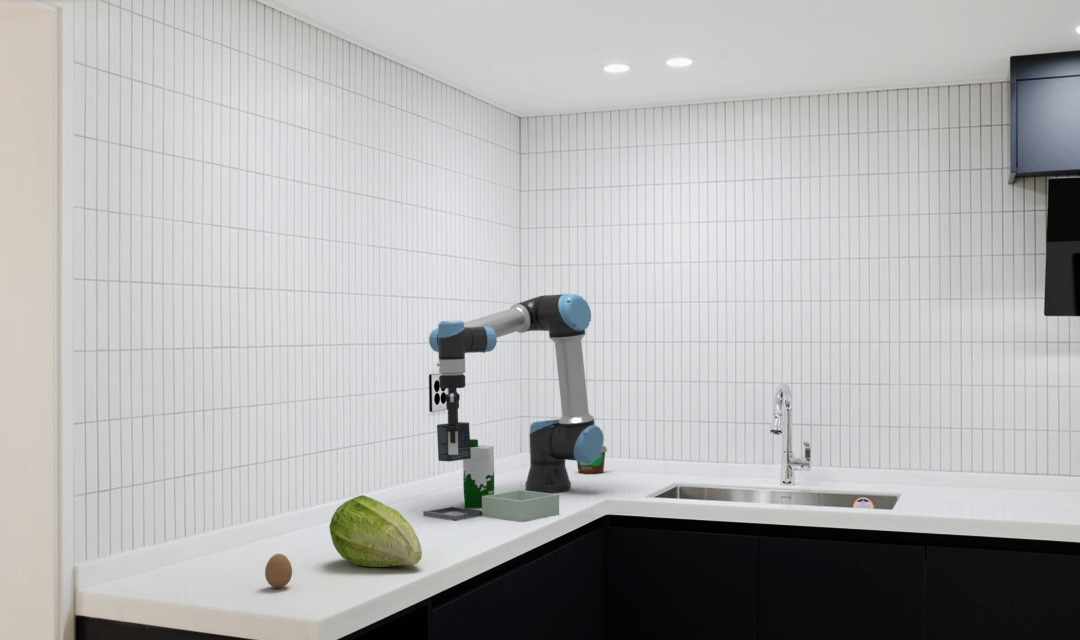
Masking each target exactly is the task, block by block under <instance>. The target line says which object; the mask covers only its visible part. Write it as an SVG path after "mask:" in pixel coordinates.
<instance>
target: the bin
mask: <svg viewBox="0 0 1080 640" xmlns="http://www.w3.org/2000/svg"><path fill="white" fill-rule="evenodd" d="M481 510H482V516H481V517H487V518H494V519H500V520H506V519H507V520H508V521H513V520H514V521H515V522H520V521H523V522H527V521H526V520H528V521H532V520H531V519H533V520H537V519H536V518H538V519H542V518H541V517H543V518H547V516H548V517H551V516H556V515H557V516H558V515H560V494H557V493H556V494H555V493H551V492H533V491H527V490H526V489H525V490H524V489H517V490H510V491H505V492H498V493H494V494H492V495H487V496H482V508H481ZM514 521H513V522H514Z"/></svg>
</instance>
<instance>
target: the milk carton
mask: <svg viewBox="0 0 1080 640" xmlns="http://www.w3.org/2000/svg"><path fill="white" fill-rule="evenodd" d="M494 449H495V448H494V445H485V444H484V445H483V444H482V445H481V444H480V445H479V440H478V439H477V438H475V439H473V438H470V450H471V459H464V460H462V472H463V473H462V474H463V479H462V481H463V499H464V500H463V503H464V508H468V509H482V496H487V495H492V494H495V456H494V453H495V452H494Z"/></svg>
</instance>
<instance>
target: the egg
mask: <svg viewBox="0 0 1080 640" xmlns="http://www.w3.org/2000/svg"><path fill="white" fill-rule="evenodd" d="M292 575H293V567H292V564H291V562H290V560H289V559H288V557H287V556H286V555H284V554H283V553H276V554H273V555H272V556H271V557H270V558H269V560H268V561H267V563H266V565H265V569H264V577H265V579H266V581H267V583H268V584H269V585H270V586H271V587H272V588H274V589H282V588H284V587H286V586H287V585H288V584H289V582H290V581H291V579H292Z"/></svg>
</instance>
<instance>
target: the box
mask: <svg viewBox="0 0 1080 640" xmlns="http://www.w3.org/2000/svg"><path fill="white" fill-rule="evenodd" d="M446 429H448V422H447V423H439V424H436V436H437V455H438V456H437V458H438V462H456V461H463V460H464V459H471V450H470V439H471V434H470V422H469V421H468V422H463V421H462V422H461V421H460V422H459V421H458V422H457V431H458V455H448V432H446Z"/></svg>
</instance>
